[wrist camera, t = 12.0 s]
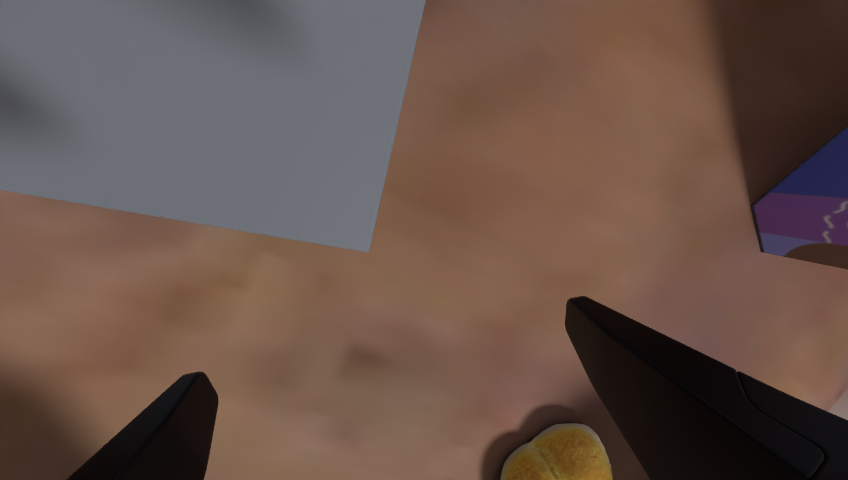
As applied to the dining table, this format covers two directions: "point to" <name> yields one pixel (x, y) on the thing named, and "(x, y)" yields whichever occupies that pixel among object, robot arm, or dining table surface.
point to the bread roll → (560, 456)
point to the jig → (208, 109)
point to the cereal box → (809, 208)
